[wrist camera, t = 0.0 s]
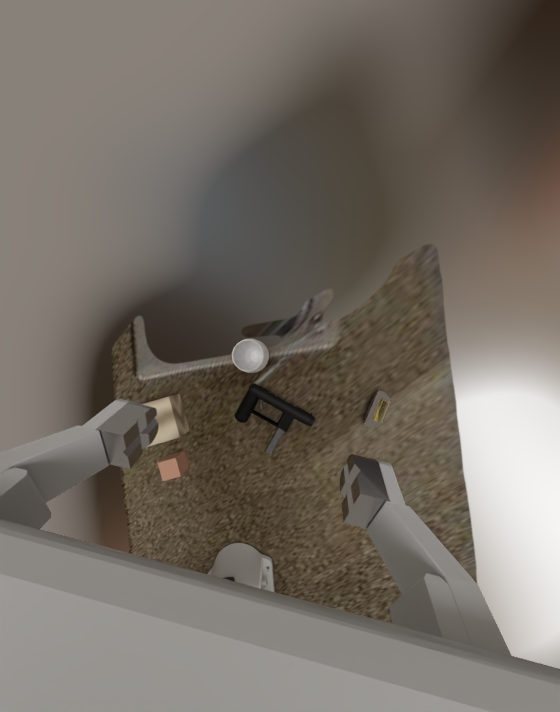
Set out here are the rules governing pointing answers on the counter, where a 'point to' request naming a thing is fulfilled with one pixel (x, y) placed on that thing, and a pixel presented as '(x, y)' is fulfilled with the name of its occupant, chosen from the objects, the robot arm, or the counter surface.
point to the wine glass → (250, 355)
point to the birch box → (169, 418)
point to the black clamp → (277, 402)
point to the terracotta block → (173, 465)
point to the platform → (372, 411)
